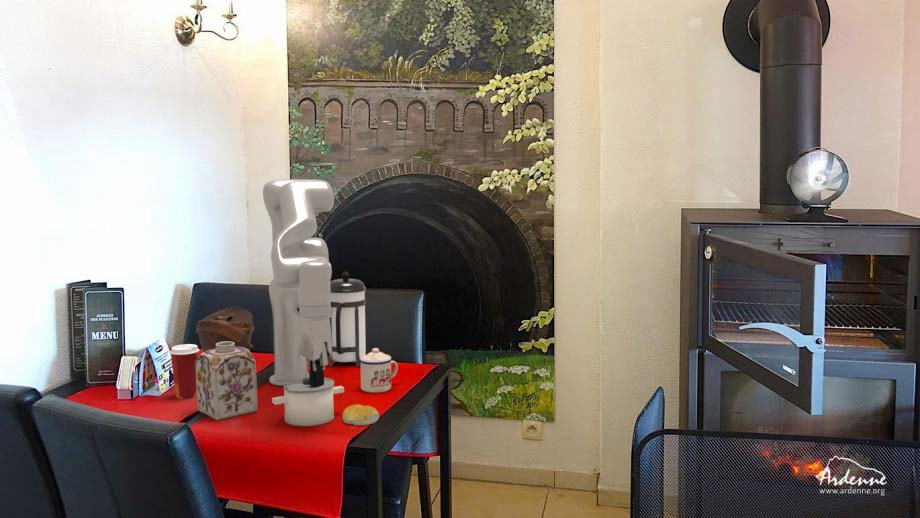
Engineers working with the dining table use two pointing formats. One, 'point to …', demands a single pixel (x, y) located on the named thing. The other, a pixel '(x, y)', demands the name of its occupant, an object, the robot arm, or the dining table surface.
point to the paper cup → (184, 370)
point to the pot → (308, 406)
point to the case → (226, 328)
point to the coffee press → (347, 320)
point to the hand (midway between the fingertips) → (316, 385)
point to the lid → (306, 385)
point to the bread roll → (360, 415)
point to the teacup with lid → (376, 371)
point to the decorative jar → (226, 381)
